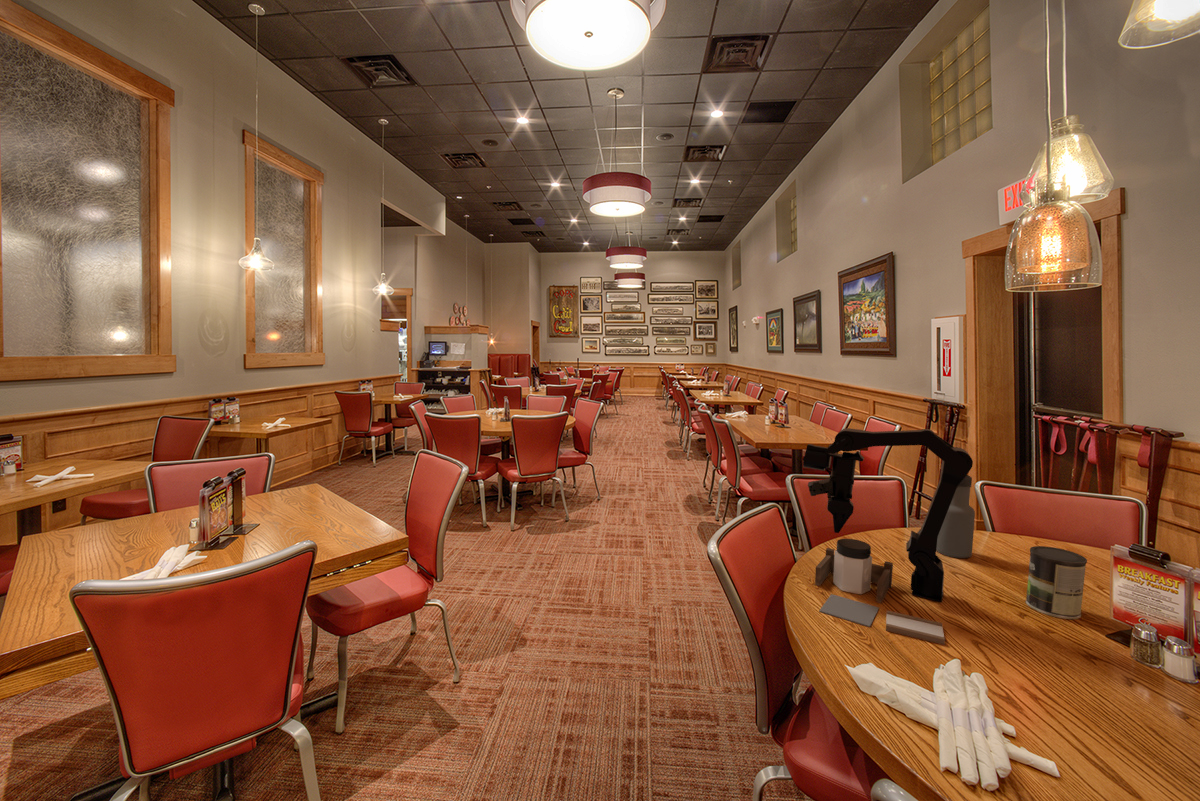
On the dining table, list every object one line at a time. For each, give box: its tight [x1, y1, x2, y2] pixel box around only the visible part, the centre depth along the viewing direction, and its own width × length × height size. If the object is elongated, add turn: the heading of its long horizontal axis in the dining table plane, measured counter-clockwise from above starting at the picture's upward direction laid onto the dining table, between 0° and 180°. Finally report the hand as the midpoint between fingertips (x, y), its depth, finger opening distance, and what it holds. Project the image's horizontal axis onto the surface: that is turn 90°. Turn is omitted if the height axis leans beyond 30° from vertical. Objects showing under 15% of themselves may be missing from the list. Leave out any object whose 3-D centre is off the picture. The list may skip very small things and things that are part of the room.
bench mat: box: [819, 594, 880, 628], centre depth 122 cm, size 11×11×1 cm
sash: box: [885, 609, 946, 646], centre depth 113 cm, size 11×8×1 cm
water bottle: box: [936, 474, 976, 559], centre depth 157 cm, size 10×10×28 cm
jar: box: [832, 538, 873, 595], centre depth 134 cm, size 9×8×12 cm
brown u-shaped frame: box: [814, 547, 894, 604], centre depth 135 cm, size 17×13×6 cm
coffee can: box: [1025, 545, 1088, 620], centre depth 122 cm, size 10×10×14 cm
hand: (836, 527), depth 140 cm, fingers open, 9 cm apart
